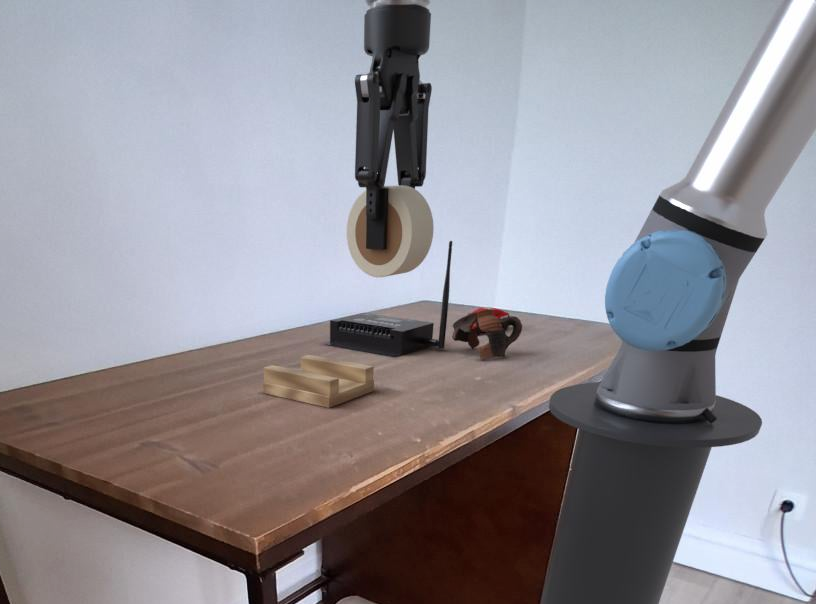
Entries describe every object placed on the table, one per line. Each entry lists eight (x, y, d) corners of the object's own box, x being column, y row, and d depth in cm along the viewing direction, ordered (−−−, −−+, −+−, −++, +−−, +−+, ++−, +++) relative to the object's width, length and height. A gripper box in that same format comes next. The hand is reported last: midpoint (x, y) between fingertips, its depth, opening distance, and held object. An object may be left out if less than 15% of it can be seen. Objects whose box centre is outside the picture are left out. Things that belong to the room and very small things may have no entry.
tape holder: (373, 390, 98) (374, 366, 96) (329, 408, 91) (329, 381, 89) (310, 378, 104) (309, 354, 102) (263, 393, 97) (262, 367, 95)
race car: (470, 337, 131) (472, 314, 129) (449, 332, 134) (452, 310, 132) (513, 328, 138) (516, 307, 135) (493, 324, 141) (495, 303, 139)
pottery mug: (466, 365, 114) (454, 316, 112) (455, 378, 123) (443, 332, 122) (534, 344, 113) (522, 294, 112) (517, 358, 123) (506, 312, 121)
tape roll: (430, 275, 89) (436, 185, 84) (409, 280, 86) (414, 186, 80) (368, 270, 94) (370, 185, 88) (345, 274, 90) (346, 185, 85)
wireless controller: (324, 344, 124) (323, 237, 114) (367, 332, 133) (371, 232, 123) (414, 360, 114) (423, 244, 104) (455, 346, 123) (466, 239, 113)
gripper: (411, 24, 83) (401, 241, 96) (321, -2, 70) (324, 251, 84) (465, 17, 79) (448, 243, 92) (381, -12, 67) (374, 254, 80)
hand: (389, 246), depth 88 cm, fingers closed on tape roll, 6 cm apart
